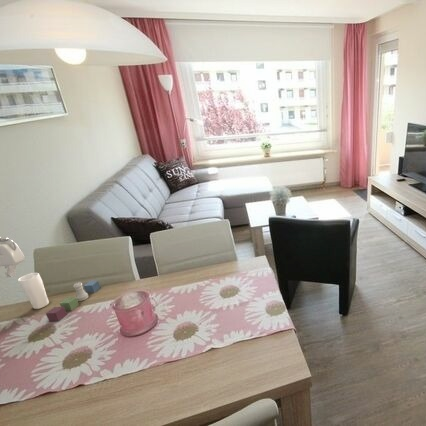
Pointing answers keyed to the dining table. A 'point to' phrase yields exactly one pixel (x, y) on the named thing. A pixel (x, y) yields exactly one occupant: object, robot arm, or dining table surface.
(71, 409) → the dining table surface
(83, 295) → the rook chess piece
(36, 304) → the white tall hollow cylinder
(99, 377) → the dining table surface
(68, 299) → the block
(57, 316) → the block
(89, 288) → the block
